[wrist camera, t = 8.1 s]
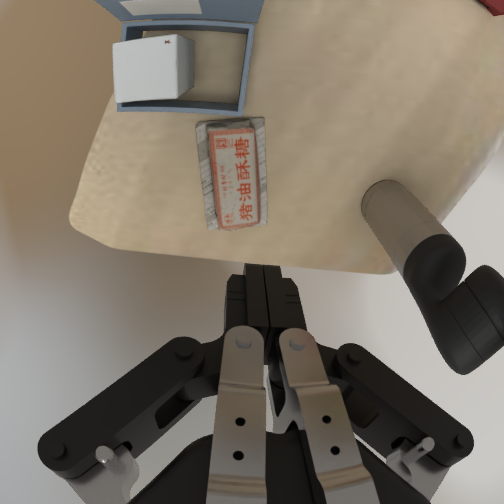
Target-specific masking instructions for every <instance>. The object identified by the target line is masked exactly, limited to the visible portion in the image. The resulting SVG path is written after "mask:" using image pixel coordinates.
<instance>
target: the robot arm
mask: <svg viewBox="0 0 504 504" xmlns="http://www.w3.org/2000/svg"><path fill="white" fill-rule="evenodd" d="M361 209H362V215H363V217H364V219H365V220H366V222H367V223H368V225H369V226H370V228H371V229H372V231H373V232H374V234H375V235H376V237H377V238H378V240H379V241H380V243H381V244H382V246H383V247H384V249H385V250H386V252H387V254H388V255H389V257H390V258H391V260H392V261H393V263H394V265H395V266H396V268H397V269H398V271H399V273H400V274H401V276H402V277H403V279H404V281H405V283H406V284H407V286H408V288H409V289H410V292H411V294H412V296H413V297H414V299H415V301H416V303H417V305H418V307H419V308H420V311H421V313H422V315H423V317H424V319H425V321H426V324H427V326H428V328H429V331H430V333H431V335H432V337H433V339H434V342H435V344H436V346H437V348H438V350H439V351H440V353H441V355H442V357H443V358H444V360H445V362H446V363H447V364H448V365H449V367H450V368H451V369H453V370H454V371H455V372H456V373H458V374H461V375H466V374H468V373H470V372H472V371H473V370H475V369H476V368H477V367H479V366H480V365H481V364H483V363H484V362H485V361H486V360H488V359H489V358H490V357H491V356H492V355H493V354H495V353H496V352H497V351H498V350H499V349H501V348H502V347H503V346H504V278H503V277H502V276H501V275H500V274H499V273H498V272H497V271H496V270H495V269H493V268H492V267H490V266H487V265H482V266H480V267H478V268H477V269H476V270H474V271H473V272H472V273H471V274H470V275H469V276H468V277H467V278H466V279H465V280H464V281H465V282H464V281H463V282H462V283H460V284H459V282H460V280H461V278H462V276H463V274H464V271H465V266H466V256H465V253H464V250H463V248H462V247H461V246H460V244H459V243H458V242H457V241H456V240H455V239H454V238H453V237H452V235H451V234H450V233H449V232H448V231H447V230H446V229H445V228H444V227H443V226H442V225H441V224H440V223H439V222H438V221H437V220H436V218H435V217H434V216H433V214H432V213H431V212H430V211H429V210H428V209H427V208H426V207H425V206H424V205H423V204H422V203H420V202H419V201H418V200H417V199H416V198H415V197H414V196H413V195H412V194H411V193H410V192H408V191H407V190H406V189H405V188H404V187H403V186H402V185H401V184H399V183H398V182H396V181H392V180H385V181H381V182H378V183H376V184H375V185H373V186H372V187H371V188H370V189H369V190H368V191H367V193H366V194H365V196H364V198H363V200H362V205H361ZM458 284H459V285H458ZM224 308H225V309H224V333H223V335H222V336H221V337H220V338H218V339H217V340H215V341H212V342H208V343H203V344H201V343H200V342H198V341H197V340H195V339H193V338H190V337H177V338H174V339H172V340H171V341H169V342H168V343H166V344H165V345H164V346H162V347H161V348H160V349H159V350H157V351H156V352H154V353H153V354H152V355H151V356H149V357H148V358H147V359H145V360H144V361H143V362H141V363H140V364H139V365H137V366H136V367H135V368H134V369H132V370H131V371H129V372H128V373H127V374H125V375H124V376H123V377H121V378H120V379H118V380H117V381H116V382H114V383H113V384H112V385H110V386H109V387H108V388H106V389H105V390H104V391H102V392H101V393H100V394H98V395H97V396H95V397H94V398H93V399H91V400H90V401H89V402H87V403H86V404H85V405H83V406H82V407H80V408H79V409H78V410H76V411H75V412H74V413H72V414H71V415H69V416H68V417H67V418H65V419H64V420H62V421H61V422H60V423H59V424H57V425H56V426H54V427H53V428H51V429H50V430H49V431H47V432H46V433H45V434H43V435H42V437H41V438H40V440H39V442H38V455H39V457H40V459H41V461H42V462H43V464H44V465H45V466H47V467H48V468H49V469H51V470H52V471H54V472H55V473H56V474H57V475H58V476H59V477H61V478H63V479H64V480H66V481H67V482H68V483H69V485H70V486H71V487H72V488H73V489H74V491H75V492H76V493H77V494H78V495H79V496H80V498H81V499H82V500H83V501H84V502H85V503H86V504H431V503H430V500H431V498H432V496H433V495H434V493H435V492H436V490H437V489H438V487H439V485H440V484H441V482H442V481H443V479H444V477H445V475H446V474H447V472H448V470H449V468H450V467H451V466H452V465H453V464H455V463H457V462H459V461H460V460H462V459H463V458H465V457H466V456H468V455H469V454H470V453H471V451H472V450H473V447H474V440H473V436H472V434H471V432H470V431H469V430H468V429H467V428H466V427H465V426H463V425H462V424H461V423H459V422H458V421H457V420H455V419H454V418H453V417H452V416H450V415H449V414H448V413H447V412H445V411H444V410H443V409H441V408H440V407H439V406H438V405H436V404H435V403H434V402H432V401H431V400H430V399H428V398H427V397H426V396H424V395H423V394H422V393H421V392H420V391H418V390H417V389H416V388H414V387H413V386H412V385H411V384H409V383H408V382H407V381H405V380H404V379H403V378H402V377H400V376H399V375H398V374H396V373H395V372H394V371H393V370H391V369H390V368H388V367H387V366H386V365H385V364H384V363H382V362H381V361H380V360H379V359H377V358H376V357H375V356H373V355H372V354H371V353H370V352H368V351H367V350H366V349H364V348H363V347H362V346H360V345H357V344H354V343H347V344H344V345H342V346H340V348H339V349H338V350H336V349H333V348H330V347H326V346H323V345H320V344H318V343H317V342H316V341H315V339H314V337H313V336H312V335H311V334H310V333H309V332H307V327H306V323H305V318H304V314H303V310H302V305H301V301H300V297H299V292H298V288H297V286H296V284H295V283H294V282H293V281H292V279H291V278H282V274H281V269H280V266H274V265H260V264H247V263H245V265H244V271H243V275H236V274H232V275H231V277H230V278H229V280H228V281H227V287H226V297H225V307H224ZM264 365H268V370H269V373H268V376H267V387H268V393H269V399H270V404H271V409H272V415H273V433H272V432H267V431H266V390H265V388H264V387H263V368H264V367H263V366H264ZM214 395H218V396H217V405H216V414H215V423H214V433H213V434H211V435H208V436H204V437H202V438H200V439H197V440H196V441H194V442H192V443H191V444H189V445H188V446H187V447H186V448H185V449H184V450H183V451H182V452H181V453H180V454H179V455H178V456H177V457H176V458H175V459H174V460H173V461H172V462H171V463H170V464H169V465H167V466H166V467H165V469H163V470H162V471H161V472H160V473H159V474H158V475H157V476H156V477H155V478H154V479H153V480H152V481H151V482H150V483H149V484H148V485H147V486H146V487H145V488H143V489H142V490H141V491H140V492H139V493H138V494H137V495H136V496H135V497H134V498H133V499H131V500H130V490H131V487H132V486H133V484H134V483H135V482H136V481H137V479H138V477H139V466H138V464H137V462H136V460H135V459H136V458H137V457H138V456H139V455H140V454H141V453H143V452H144V451H145V450H146V449H147V448H148V447H150V446H151V445H152V444H153V443H154V442H156V441H157V440H158V439H159V438H160V437H161V436H162V435H164V433H166V432H167V431H168V430H169V429H170V428H171V427H172V426H174V425H175V424H176V423H177V422H178V421H179V420H180V419H181V418H183V417H184V416H185V415H186V414H187V413H188V412H189V411H190V410H191V409H192V408H193V407H195V406H196V405H197V404H198V403H199V402H200V401H201V399H202V398H204V397H209V396H214ZM353 432H354V433H355V434H356V435H358V436H359V437H360V438H361V439H362V440H364V441H365V442H366V443H367V444H369V445H370V446H371V447H372V448H374V449H375V450H376V451H377V452H378V453H379V454H381V455H382V456H383V457H384V458H386V464H385V463H384V462H383V461H382V460H381V459H379V458H378V457H377V456H376V455H375V454H374V453H373V452H371V451H370V450H369V449H368V448H367V447H366V446H365V445H363V444H362V443H361V442H360V441H358V440H357V439H356V438H355V436H354V433H353Z"/></svg>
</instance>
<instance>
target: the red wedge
mask: <svg viewBox="0 0 504 504" xmlns="http://www.w3.org/2000/svg"><path fill="white" fill-rule="evenodd" d="M480 1H481V2H482V3H484V4H485V5H487V6H488V8H487V9H488V10H489V11H490V13H491V14H492V15H493V16H498V15H504V0H480Z"/></svg>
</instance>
